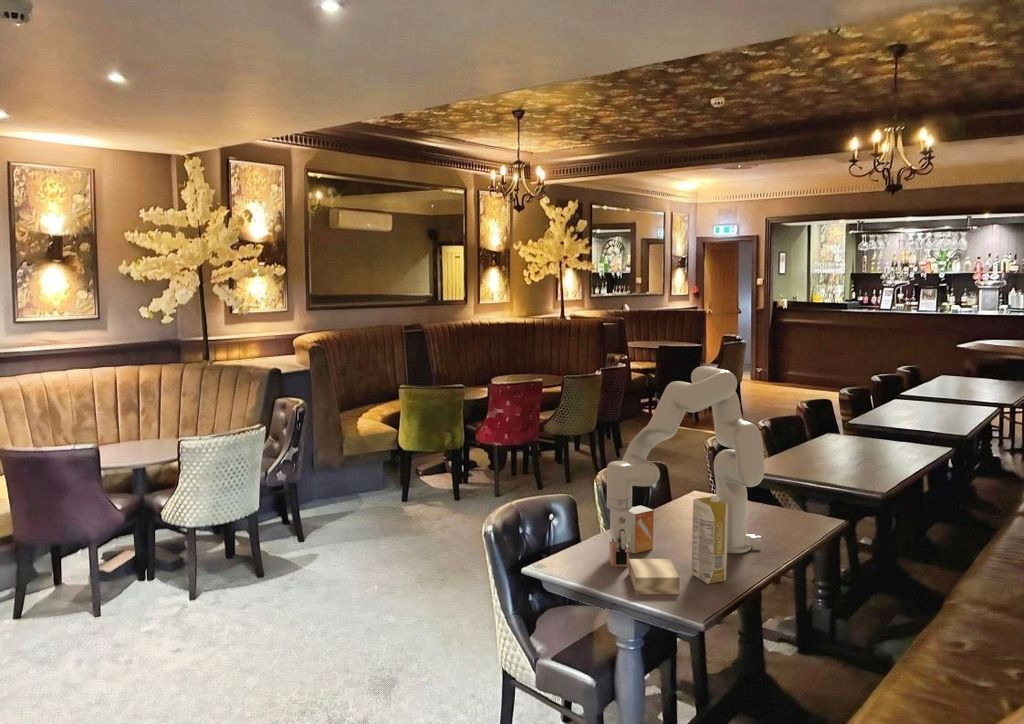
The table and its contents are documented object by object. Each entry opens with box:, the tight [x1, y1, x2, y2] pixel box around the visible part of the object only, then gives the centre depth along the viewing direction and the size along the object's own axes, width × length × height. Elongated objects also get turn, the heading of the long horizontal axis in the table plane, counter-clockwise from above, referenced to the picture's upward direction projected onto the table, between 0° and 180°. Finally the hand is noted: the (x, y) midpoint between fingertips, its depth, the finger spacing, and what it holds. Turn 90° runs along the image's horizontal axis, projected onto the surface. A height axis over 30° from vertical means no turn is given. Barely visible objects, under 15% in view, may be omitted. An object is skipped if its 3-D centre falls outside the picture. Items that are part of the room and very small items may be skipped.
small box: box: [626, 504, 655, 555], centre depth 242 cm, size 8×6×13 cm
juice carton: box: [691, 495, 728, 585], centre depth 217 cm, size 9×8×24 cm
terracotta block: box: [608, 541, 630, 567], centre depth 230 cm, size 5×5×6 cm
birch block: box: [628, 558, 681, 595], centre depth 215 cm, size 12×14×5 cm
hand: (618, 559), depth 230 cm, fingers open, 7 cm apart
